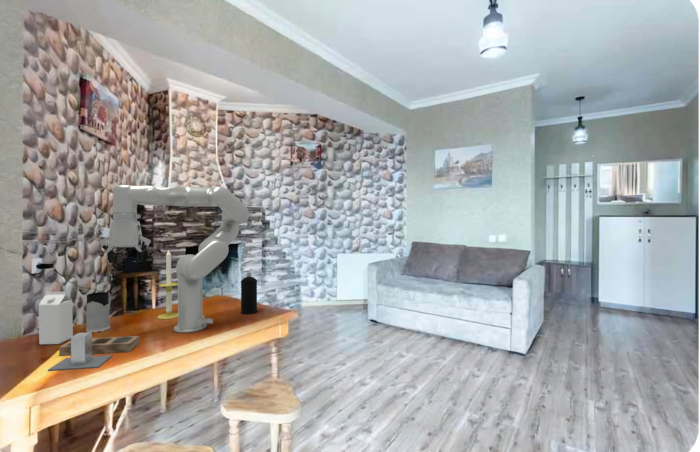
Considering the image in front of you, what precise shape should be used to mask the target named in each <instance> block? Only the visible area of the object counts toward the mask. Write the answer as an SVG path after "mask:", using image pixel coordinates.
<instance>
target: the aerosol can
mask: <svg viewBox="0 0 700 452" xmlns="http://www.w3.org/2000/svg"><path fill="white" fill-rule="evenodd" d="M256 313H258V279H256V277H253V276H252V272H250V271H249V272H247V273H246V277H243V278H242V279H241V280H240V314H242V315H252V314H253V315H254V314H256Z"/></svg>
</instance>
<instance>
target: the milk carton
mask: <svg viewBox="0 0 700 452" xmlns="http://www.w3.org/2000/svg"><path fill="white" fill-rule="evenodd" d="M73 320H74V319H73V299H72V298H71V297H70V296H69V295H68V294H67V291H45V295H44V297H43V298H42V299H41V301H40V302H39V304H38V332H39V333H38V336H39V337H38V338H39V339H38V341H39V342H38V343H39V345H60V344H62V343H64V342H66V341H69V340H71V337H72V336H74V333H73V332H74V331H73V327H74V325H73V323H74V321H73Z"/></svg>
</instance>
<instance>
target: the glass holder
mask: <svg viewBox="0 0 700 452" xmlns="http://www.w3.org/2000/svg"><path fill="white" fill-rule="evenodd" d="M111 296H112V295H111V293H110V292H107V291H98V292H91V293H88V294H86V307H85V309H86V311H85V312H86V317H85V319H86V328H85V330H86V331H87V332H86V333H88V332H93V333H99V332H98V331H101V332H104V330H105V331H107V329H108V330H110V329H111V328H110V327H111V325H110V307H111V301H112V298H111ZM109 328H110V329H109Z"/></svg>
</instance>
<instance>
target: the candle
mask: <svg viewBox="0 0 700 452" xmlns="http://www.w3.org/2000/svg"><path fill="white" fill-rule="evenodd" d="M165 259H166V260H165V265H166V266H165V267H166V268H165V269H166V270H165V274H166V275H165V277H166V278H165V280H166V281H165V283H164V282H163V283H160V284H158V287H161V288H165V313H163V314H159V315H158V316H157V319H159V320H171V319H176V318H178V312H173V287H176V286H177V287H178V282H172V254H171V252H170V248H168V249H167V253H166V254H165Z"/></svg>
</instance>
